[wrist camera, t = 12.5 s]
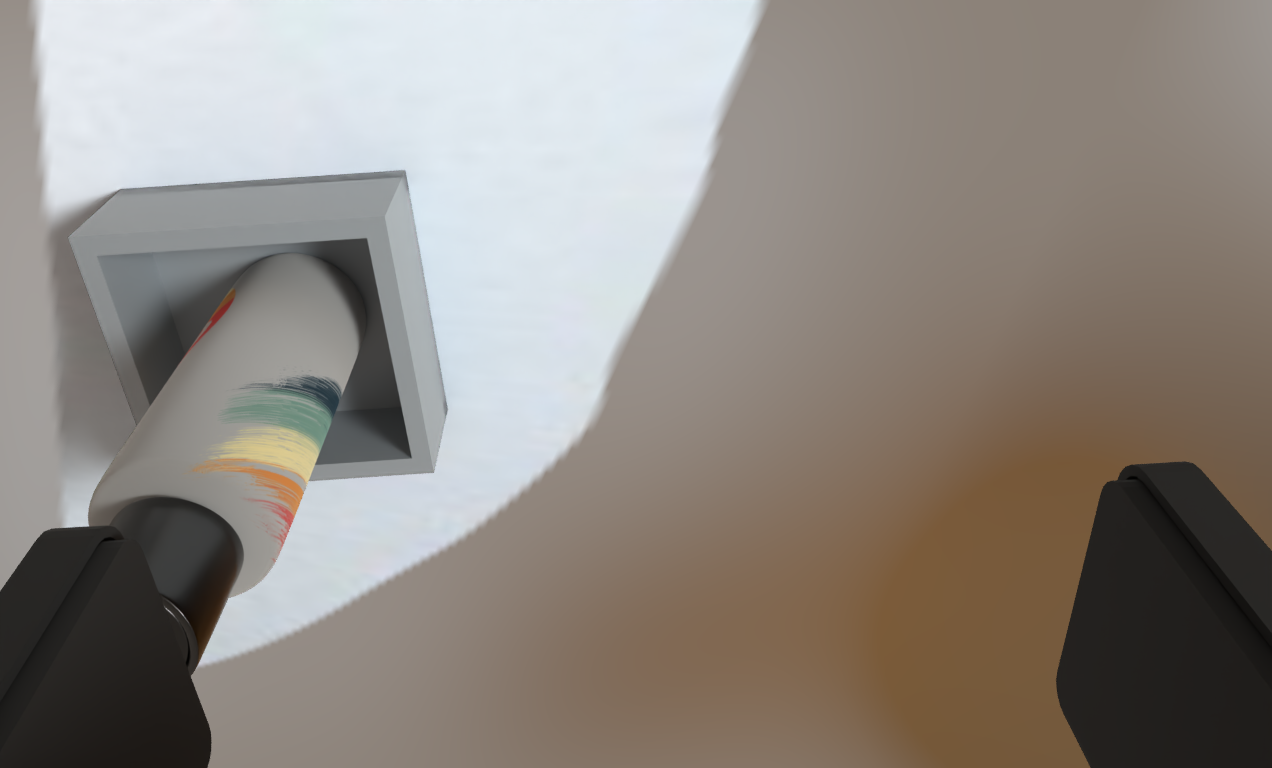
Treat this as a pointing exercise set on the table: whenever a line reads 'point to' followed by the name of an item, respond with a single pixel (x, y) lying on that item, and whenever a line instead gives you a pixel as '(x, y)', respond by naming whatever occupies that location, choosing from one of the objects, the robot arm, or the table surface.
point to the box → (231, 243)
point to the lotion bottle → (235, 439)
